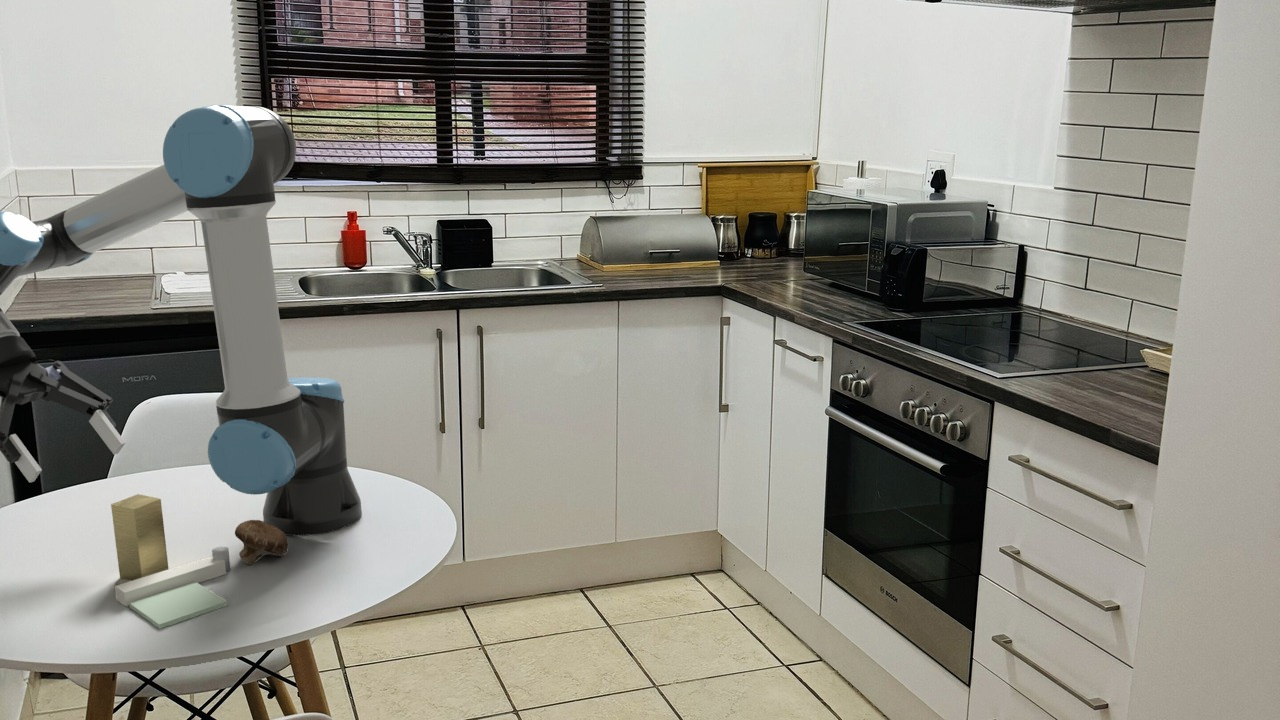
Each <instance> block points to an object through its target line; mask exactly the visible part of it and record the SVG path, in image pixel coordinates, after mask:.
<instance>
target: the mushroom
mask: <svg viewBox="0 0 1280 720" xmlns="http://www.w3.org/2000/svg"><path fill="white" fill-rule="evenodd" d="M234 535H235V537H236V538H237V539H238V540H239V541H240V542H242V544H243V547H242V549H241V550H240V551H239V553H238V554H239V555H238V556H239V557H240V559H242V560H243V561H244V562H246V563H247V564H249V565H253V564H255V563H256V562H257V561H259V559H261V558H262V557H263V556H265V555H273V556H277V557H282V556H285V555H286V554H287V553H288V549H289V541H288V538H287V536H286V535H285V534H284V532H283V531H281V530H280V529H279V528H278V527H275V526H273V525H270V524H268V523H265V522H264V520H260V519H249V520H245V521H243V522H240V523H239V524H238V525H237V526H236V527H235V530H234Z"/></svg>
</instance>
